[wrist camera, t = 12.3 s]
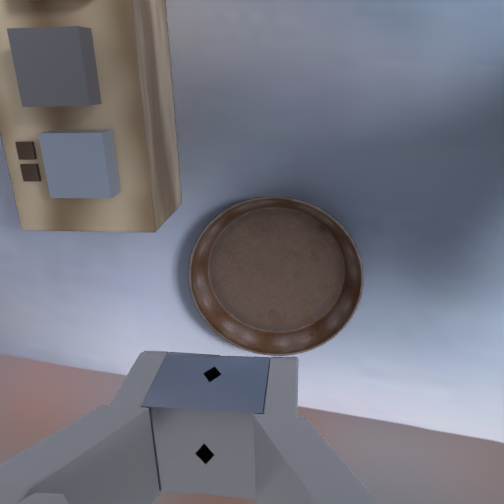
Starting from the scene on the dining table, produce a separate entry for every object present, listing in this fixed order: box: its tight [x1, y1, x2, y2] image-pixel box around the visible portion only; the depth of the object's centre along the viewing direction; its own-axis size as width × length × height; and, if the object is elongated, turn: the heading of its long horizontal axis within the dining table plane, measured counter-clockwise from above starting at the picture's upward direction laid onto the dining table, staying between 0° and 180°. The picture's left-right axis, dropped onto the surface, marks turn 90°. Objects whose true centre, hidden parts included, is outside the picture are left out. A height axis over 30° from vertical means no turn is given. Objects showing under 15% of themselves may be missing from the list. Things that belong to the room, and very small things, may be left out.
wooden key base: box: [0, 0, 182, 232], centre depth 38 cm, size 12×26×9 cm, turn 1°
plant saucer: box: [188, 196, 363, 356], centre depth 47 cm, size 18×18×3 cm
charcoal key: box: [7, 26, 102, 107], centre depth 32 cm, size 5×5×2 cm
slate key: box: [38, 129, 121, 199], centre depth 36 cm, size 5×5×2 cm
